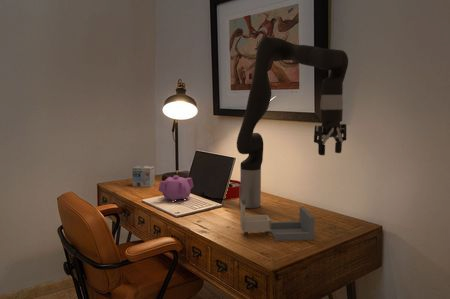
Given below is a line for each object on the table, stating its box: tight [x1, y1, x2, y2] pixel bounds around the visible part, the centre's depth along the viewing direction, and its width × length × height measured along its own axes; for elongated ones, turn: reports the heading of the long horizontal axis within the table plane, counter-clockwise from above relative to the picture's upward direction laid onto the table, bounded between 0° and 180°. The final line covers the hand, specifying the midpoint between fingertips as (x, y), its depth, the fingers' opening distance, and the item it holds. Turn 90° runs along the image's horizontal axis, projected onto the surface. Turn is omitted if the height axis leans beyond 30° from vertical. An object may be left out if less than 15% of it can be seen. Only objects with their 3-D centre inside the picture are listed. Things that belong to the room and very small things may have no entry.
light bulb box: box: [131, 165, 156, 188], centre depth 223 cm, size 11×7×11 cm, turn 81°
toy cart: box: [240, 197, 272, 237], centre depth 143 cm, size 7×10×13 cm
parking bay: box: [269, 206, 315, 242], centre depth 145 cm, size 13×14×8 cm
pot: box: [158, 175, 194, 201], centre depth 193 cm, size 18×17×12 cm
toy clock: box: [224, 179, 240, 200], centre depth 203 cm, size 20×6×20 cm
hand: (330, 154), depth 141 cm, fingers open, 8 cm apart
